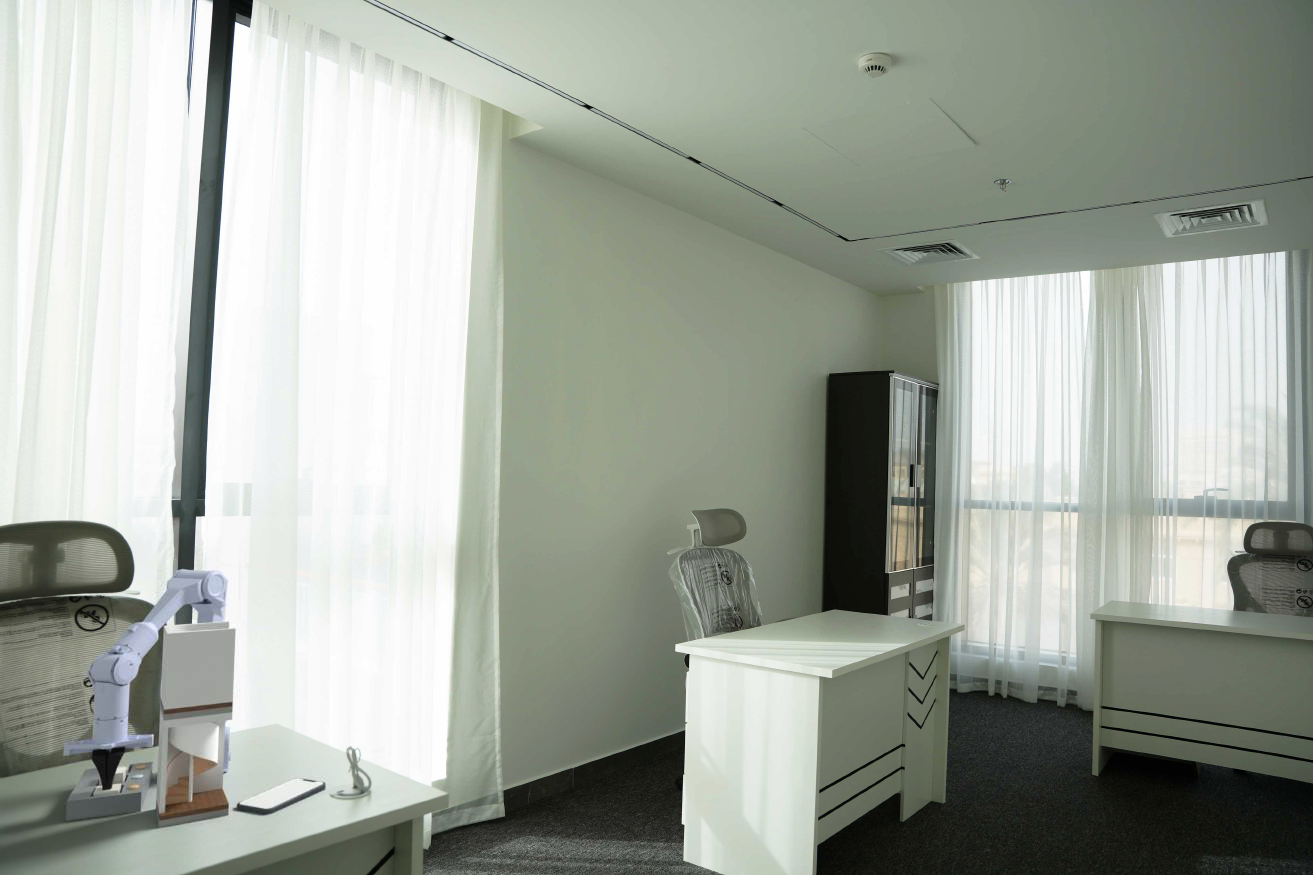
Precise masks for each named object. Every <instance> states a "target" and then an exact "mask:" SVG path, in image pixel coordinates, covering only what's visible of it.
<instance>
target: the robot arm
mask: <svg viewBox="0 0 1313 875" xmlns="http://www.w3.org/2000/svg"><path fill="white" fill-rule="evenodd" d="M228 581H229V579H227V577H226V576H225V575H224V573H222V572H221V571H219V570H199V569H198V570H196V569H195V570H194V569H185V568H182V569H178V570H176V571H175V572H174V573H173V574H172V577H171V578H169V579H168V580H167V582H166V591H165V592H164V593H163V595H162V596H161V597H160V598H159V600H158V601H157V602H156V604H155V605H154V606H153V607H152V609H150V612H149V613H148V614H147V615H146V616H145V618H144V620H143V621H142V622H134V623H133V624H130V625H129V626H128V627H127V628H126V631H125V632H124V633H123V635H122V636H121V637H119V639H118V640H117V641H116V643H114V645H112V646H111V647H110V649H109V650H108V651H107V652H105V653H103V654H99V655H98V656H97V657H96V658H95V659H93V661H92V662H91V664H90V665H89V669H88V670H87V672H86V673H87V677H88V679H89V681H90V682H91V684H92V685H91V686H92V688H91V689H92V690H91V691H93V693H94V696H93V698H94V699H93V702H94V703H93V719H92V720H93V721H92V722H93V723H92V737H91V738H89V739H84V740H76V741H72V742H71V741H70V742H65V744H64V745H63V757H64V756H65V757H67V756H71V755H73V754H74V755H75V754H85V753H91V761H92V762H93V765H94V766H95V768H97V770H98V773H99V775H100V779H101V782H102V790H110V789H111V788H112V786H113V780H114V776H115V773H116V770H117V768H118V765H120V762H121V760H122V759H123V756H124V755H125V753H126V751H127V749H132V748H134V749H135V748H142V747H143V748H152V747H153V745H154V738H155V737H154V736H155V735H154V734H152V733H151V734H128V728H129V727H128V726H129V707H130V706H129V704H130V689H131V688H130V686H131V682H132V681H133V680H134V679H135V678H136V677H137V675H138V672H139V670H140V669H139V667H140V665H141V664H142V661H143V658H144V657H145V656H146V655H147V653H148V652H150V650H151V649H152V647H153V646H154V645H155V644H156V643H157V642H158V640H159V630H160V629H161V628H162V627H164V626H165V624H166V623H168V621H169V620H170V619H172V617H173V616H175V614H176V613H177V612H178V611H179V610H180V609H181V608H182V607H183V606H186V605H190V606H191V607H192V608H193V609H194V611H196V612H197V621H196V623H211V622H225V618H226V608H227V607H226V606H227V592H228V591H227V590H228ZM227 721H228V720H226V721H225V724H227ZM230 736H231V726H225V742H224V768H223V773H227V772H228V771H229V763H230V761H231V756H232V755H231V754H232V752H230V741H231V740H230V739H231V738H230Z"/></svg>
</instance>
